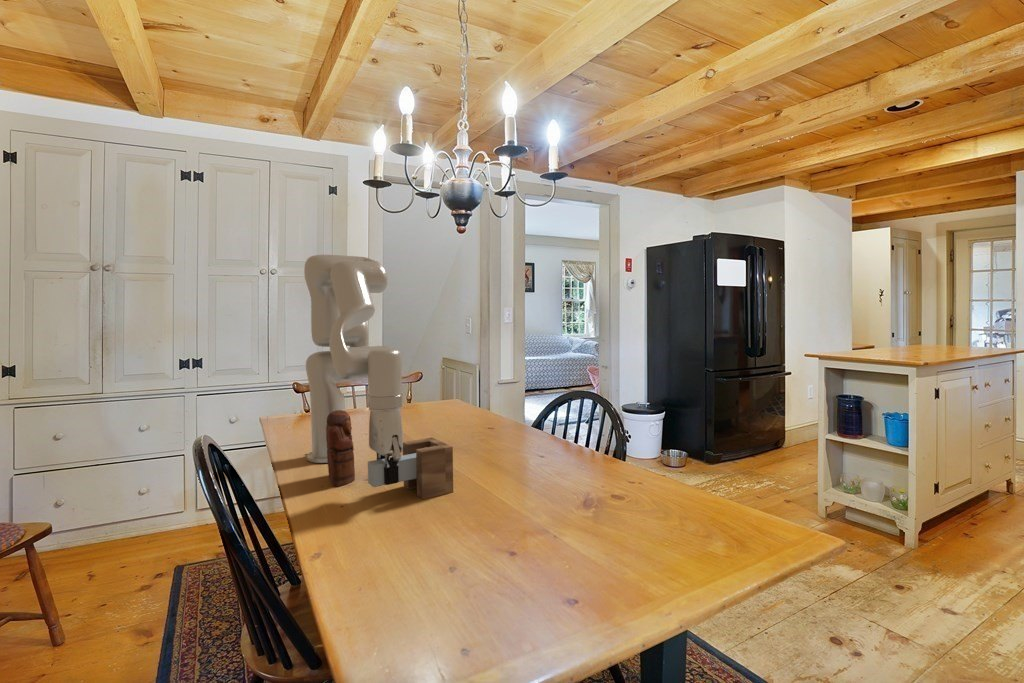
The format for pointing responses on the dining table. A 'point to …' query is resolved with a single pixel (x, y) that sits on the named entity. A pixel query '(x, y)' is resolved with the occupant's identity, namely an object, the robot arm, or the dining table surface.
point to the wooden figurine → (340, 448)
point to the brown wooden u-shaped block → (431, 467)
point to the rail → (405, 470)
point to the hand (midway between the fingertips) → (388, 480)
